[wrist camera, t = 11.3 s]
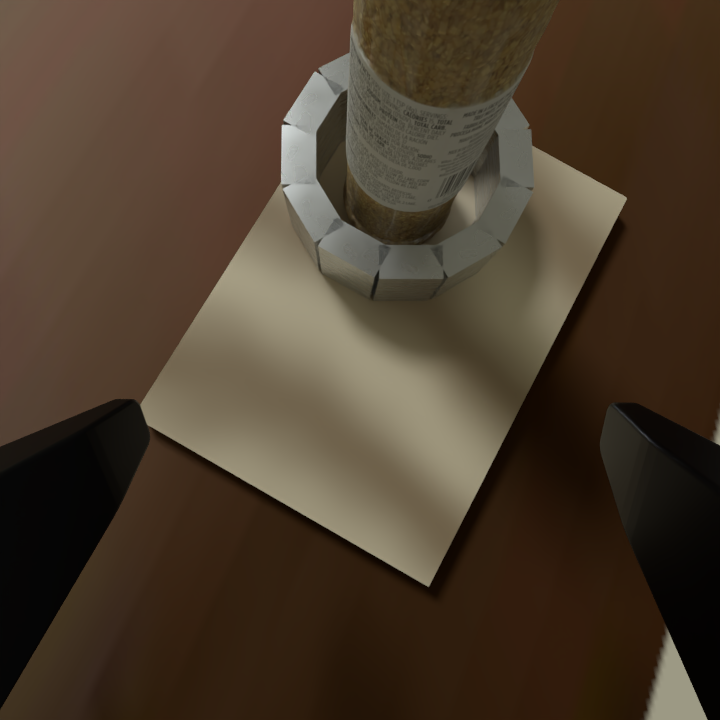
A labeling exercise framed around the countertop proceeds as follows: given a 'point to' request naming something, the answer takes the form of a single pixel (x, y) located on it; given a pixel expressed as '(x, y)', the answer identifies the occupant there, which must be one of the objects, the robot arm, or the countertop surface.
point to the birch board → (378, 368)
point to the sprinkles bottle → (427, 104)
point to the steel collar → (369, 256)
